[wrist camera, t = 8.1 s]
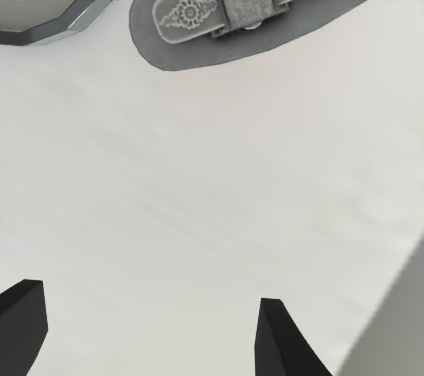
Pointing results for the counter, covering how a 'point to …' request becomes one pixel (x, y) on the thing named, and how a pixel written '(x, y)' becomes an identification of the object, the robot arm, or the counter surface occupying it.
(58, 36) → the dark grey ring
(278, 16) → the lighter
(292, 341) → the robot arm
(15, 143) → the counter surface
